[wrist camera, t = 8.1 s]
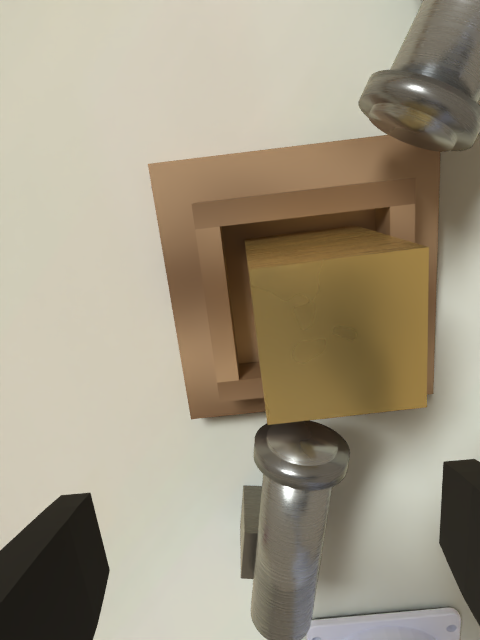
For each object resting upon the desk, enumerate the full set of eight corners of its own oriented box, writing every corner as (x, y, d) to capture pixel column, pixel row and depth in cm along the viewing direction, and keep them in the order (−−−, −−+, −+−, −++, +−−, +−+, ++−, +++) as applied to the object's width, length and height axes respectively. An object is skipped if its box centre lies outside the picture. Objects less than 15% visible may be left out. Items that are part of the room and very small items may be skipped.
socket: (422, 382, 18) (451, 412, 15) (193, 407, 18) (186, 439, 16) (428, 132, 15) (464, 121, 12) (153, 165, 15) (137, 160, 13)
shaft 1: (251, 383, 18) (257, 466, 12) (325, 387, 18) (362, 471, 13) (240, 531, 20) (241, 654, 15) (304, 534, 20) (329, 657, 15)
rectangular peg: (358, 329, 16) (426, 407, 10) (256, 341, 16) (267, 424, 10) (354, 225, 15) (428, 247, 9) (244, 239, 15) (249, 269, 9)
